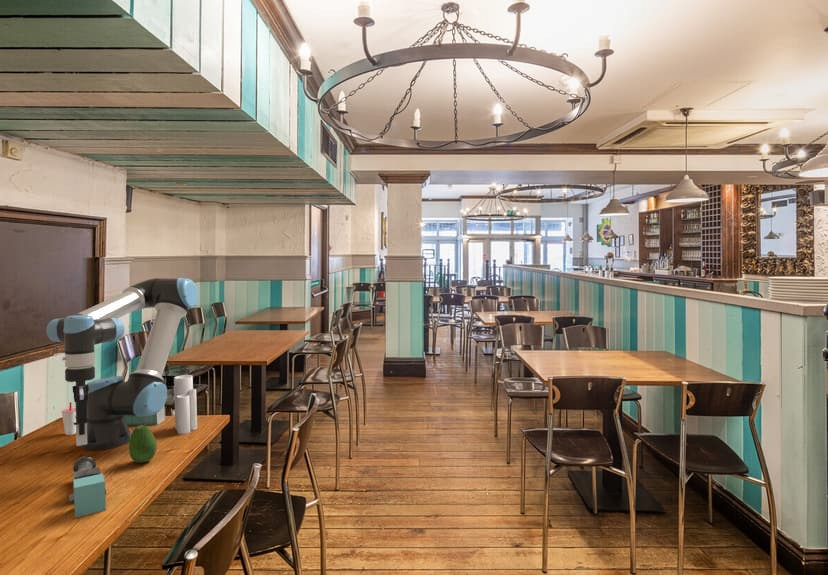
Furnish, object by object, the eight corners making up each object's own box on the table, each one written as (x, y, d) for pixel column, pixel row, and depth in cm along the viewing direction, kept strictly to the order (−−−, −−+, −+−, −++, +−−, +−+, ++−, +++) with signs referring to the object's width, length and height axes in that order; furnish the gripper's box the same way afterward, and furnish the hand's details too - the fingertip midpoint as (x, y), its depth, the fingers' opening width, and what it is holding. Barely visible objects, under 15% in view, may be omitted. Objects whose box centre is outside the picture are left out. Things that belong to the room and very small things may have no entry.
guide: (69, 496, 139) (68, 473, 139) (104, 488, 144) (104, 465, 143) (69, 503, 135) (68, 478, 135) (106, 494, 140) (105, 471, 140)
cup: (82, 432, 193) (81, 400, 193) (69, 436, 188) (67, 404, 187) (72, 430, 195) (71, 399, 194) (58, 435, 190) (57, 403, 189)
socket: (74, 508, 132) (73, 479, 132) (103, 501, 136) (102, 473, 136) (75, 517, 127) (74, 487, 127) (105, 510, 131) (104, 481, 131)
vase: (173, 427, 198) (172, 376, 197) (193, 423, 202) (192, 374, 201) (178, 435, 189) (177, 382, 188) (199, 431, 193) (197, 379, 192)
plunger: (73, 477, 149) (72, 458, 149) (95, 472, 152) (95, 454, 152) (75, 498, 136) (75, 477, 135) (100, 492, 139) (99, 472, 139)
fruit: (158, 463, 162) (157, 426, 161) (130, 469, 157) (128, 431, 157) (156, 455, 168) (154, 420, 168) (128, 460, 164) (127, 424, 164)
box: (131, 420, 208) (131, 402, 207) (165, 419, 208) (165, 401, 208) (122, 426, 200) (121, 407, 200) (157, 425, 201) (156, 407, 201)
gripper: (64, 365, 156) (66, 441, 156) (65, 371, 145) (67, 453, 146) (93, 362, 160) (95, 436, 161) (96, 368, 149) (98, 447, 150)
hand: (81, 444), depth 153 cm, fingers closed
